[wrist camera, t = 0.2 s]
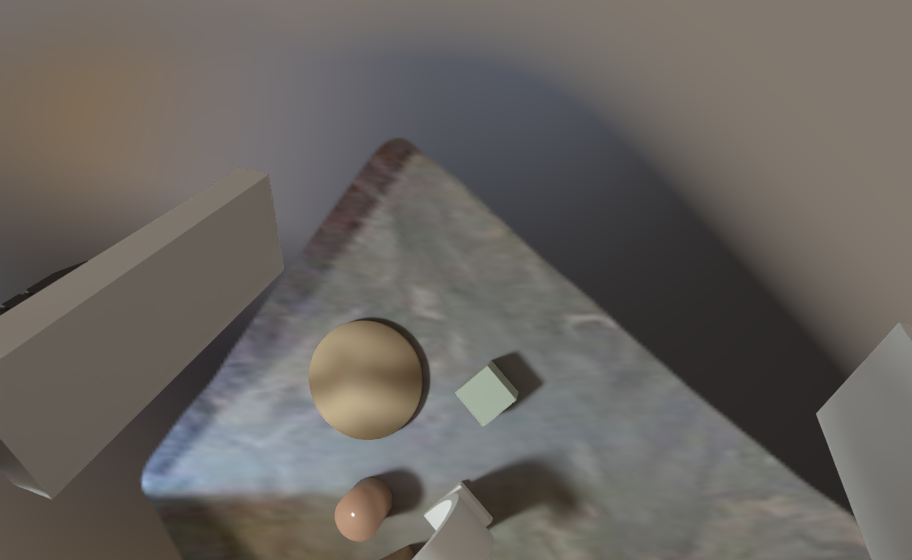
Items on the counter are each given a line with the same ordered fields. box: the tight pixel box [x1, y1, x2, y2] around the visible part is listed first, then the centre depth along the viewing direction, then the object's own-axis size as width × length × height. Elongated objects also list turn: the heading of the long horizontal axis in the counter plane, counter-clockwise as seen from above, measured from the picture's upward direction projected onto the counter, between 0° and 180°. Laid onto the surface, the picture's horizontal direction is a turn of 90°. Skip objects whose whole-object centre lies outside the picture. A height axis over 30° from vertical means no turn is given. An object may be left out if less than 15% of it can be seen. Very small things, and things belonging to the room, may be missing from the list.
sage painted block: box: [455, 360, 519, 427], centre depth 45 cm, size 4×4×3 cm
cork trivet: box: [309, 320, 423, 440], centre depth 49 cm, size 12×12×1 cm
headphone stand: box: [412, 481, 493, 560], centre depth 41 cm, size 5×6×12 cm
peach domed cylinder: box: [335, 477, 393, 541], centre depth 47 cm, size 4×4×4 cm
